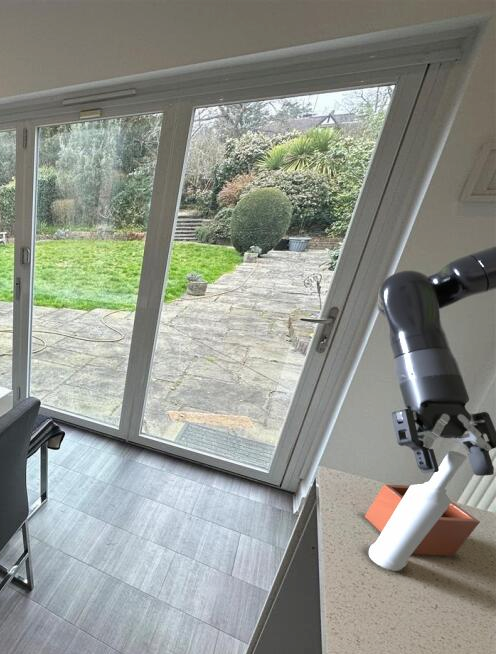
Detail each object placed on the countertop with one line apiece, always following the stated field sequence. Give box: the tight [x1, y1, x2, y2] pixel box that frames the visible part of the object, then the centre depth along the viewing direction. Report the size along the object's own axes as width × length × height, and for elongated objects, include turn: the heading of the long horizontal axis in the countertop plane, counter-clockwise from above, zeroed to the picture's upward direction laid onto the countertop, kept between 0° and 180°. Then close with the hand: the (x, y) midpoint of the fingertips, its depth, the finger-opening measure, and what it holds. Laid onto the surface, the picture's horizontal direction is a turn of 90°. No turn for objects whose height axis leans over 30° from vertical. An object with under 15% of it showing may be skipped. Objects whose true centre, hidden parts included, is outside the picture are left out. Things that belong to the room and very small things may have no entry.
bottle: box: [368, 450, 467, 572], centre depth 72 cm, size 5×5×25 cm
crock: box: [364, 483, 481, 557], centre depth 81 cm, size 10×10×9 cm
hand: (457, 474), depth 66 cm, fingers open, 8 cm apart
